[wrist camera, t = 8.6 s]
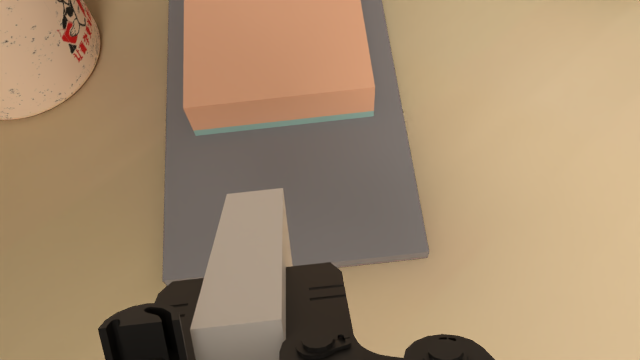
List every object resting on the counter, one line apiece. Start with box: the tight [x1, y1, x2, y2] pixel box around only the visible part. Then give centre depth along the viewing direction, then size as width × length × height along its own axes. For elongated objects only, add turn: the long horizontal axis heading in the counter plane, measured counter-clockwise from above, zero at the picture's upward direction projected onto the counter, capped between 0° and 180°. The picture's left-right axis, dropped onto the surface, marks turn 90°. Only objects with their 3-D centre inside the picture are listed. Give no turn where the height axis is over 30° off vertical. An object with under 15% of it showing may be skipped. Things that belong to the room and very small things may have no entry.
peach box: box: [183, 0, 375, 136], centre depth 32 cm, size 2×9×12 cm
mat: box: [163, 0, 429, 286], centre depth 32 cm, size 20×12×1 cm, turn 6°
